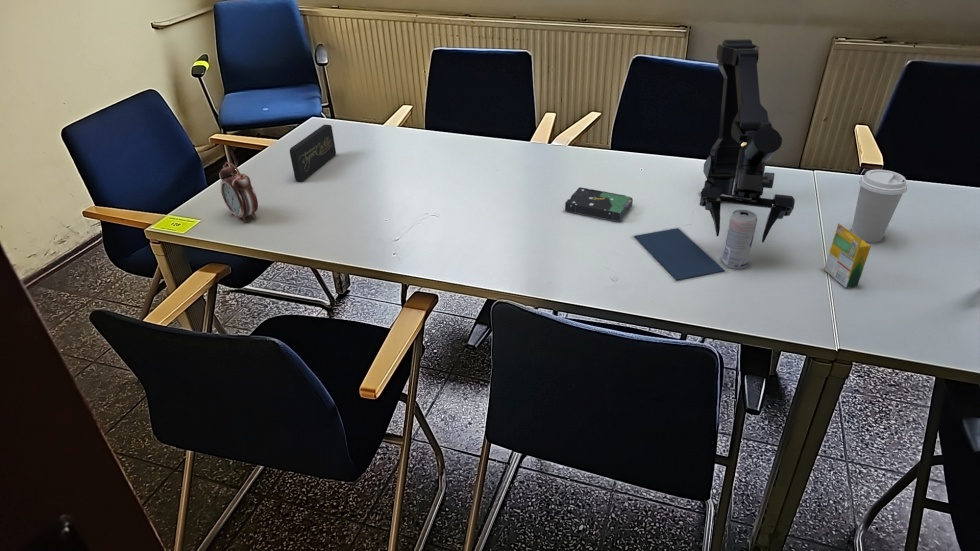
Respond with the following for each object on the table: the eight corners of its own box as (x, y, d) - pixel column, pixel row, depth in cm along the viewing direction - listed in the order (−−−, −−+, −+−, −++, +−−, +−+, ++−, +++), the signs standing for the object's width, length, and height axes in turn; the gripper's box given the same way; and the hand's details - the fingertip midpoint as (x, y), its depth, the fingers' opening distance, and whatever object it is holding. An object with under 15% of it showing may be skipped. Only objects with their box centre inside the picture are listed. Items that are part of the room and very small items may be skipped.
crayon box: (858, 286, 136) (874, 237, 130) (845, 288, 136) (861, 239, 129) (835, 268, 142) (850, 220, 136) (823, 270, 142) (837, 222, 135)
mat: (677, 229, 159) (677, 228, 158) (724, 271, 142) (724, 270, 142) (634, 236, 156) (634, 235, 156) (676, 280, 140) (676, 279, 140)
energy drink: (747, 259, 146) (758, 211, 140) (747, 271, 142) (757, 222, 136) (722, 255, 148) (731, 207, 141) (721, 267, 144) (730, 219, 137)
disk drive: (564, 212, 168) (620, 223, 162) (564, 202, 166) (621, 212, 160) (578, 196, 175) (632, 205, 170) (578, 186, 174) (633, 195, 168)
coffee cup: (870, 250, 148) (891, 189, 140) (834, 232, 155) (851, 173, 147) (898, 239, 152) (919, 179, 143) (861, 222, 159) (880, 164, 151)
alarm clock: (225, 213, 172) (211, 160, 164) (242, 207, 175) (228, 154, 167) (247, 226, 166) (233, 171, 158) (264, 219, 169) (251, 165, 161)
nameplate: (301, 182, 187) (294, 149, 182) (295, 182, 188) (288, 149, 182) (336, 154, 204) (331, 123, 199) (331, 154, 205) (325, 123, 199)
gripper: (708, 151, 138) (696, 221, 135) (804, 160, 133) (794, 233, 130) (705, 171, 149) (694, 237, 146) (793, 180, 143) (784, 248, 140)
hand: (740, 238), depth 140 cm, fingers open, 9 cm apart
